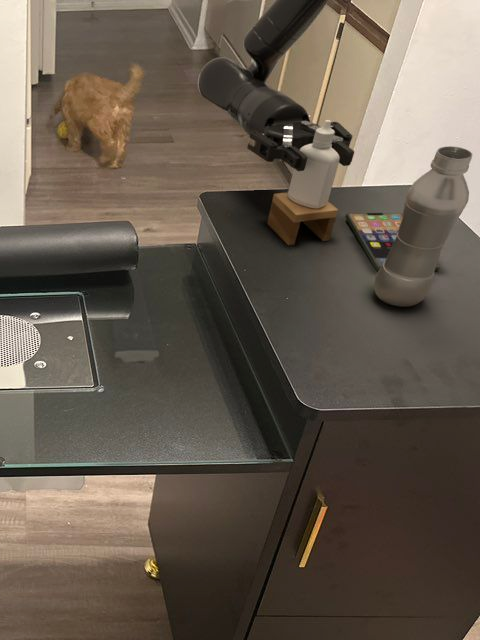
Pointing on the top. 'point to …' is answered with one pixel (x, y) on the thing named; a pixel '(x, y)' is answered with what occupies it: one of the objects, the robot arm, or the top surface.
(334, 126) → the robot arm
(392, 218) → the smartphone
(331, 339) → the top surface
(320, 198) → the eye dropper bottle
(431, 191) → the plastic bottle
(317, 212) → the small wooden table
